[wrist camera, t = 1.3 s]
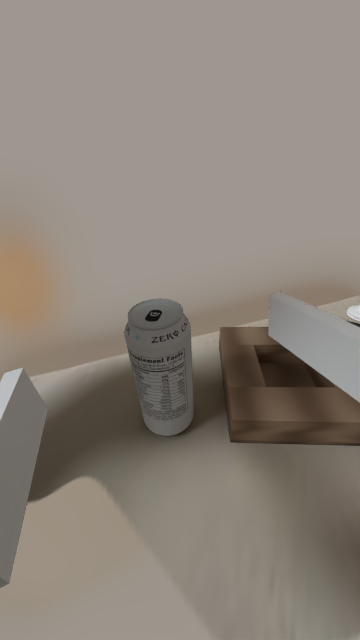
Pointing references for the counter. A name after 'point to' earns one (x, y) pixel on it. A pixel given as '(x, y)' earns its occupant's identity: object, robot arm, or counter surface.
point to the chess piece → (354, 312)
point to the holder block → (281, 394)
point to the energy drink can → (161, 364)
